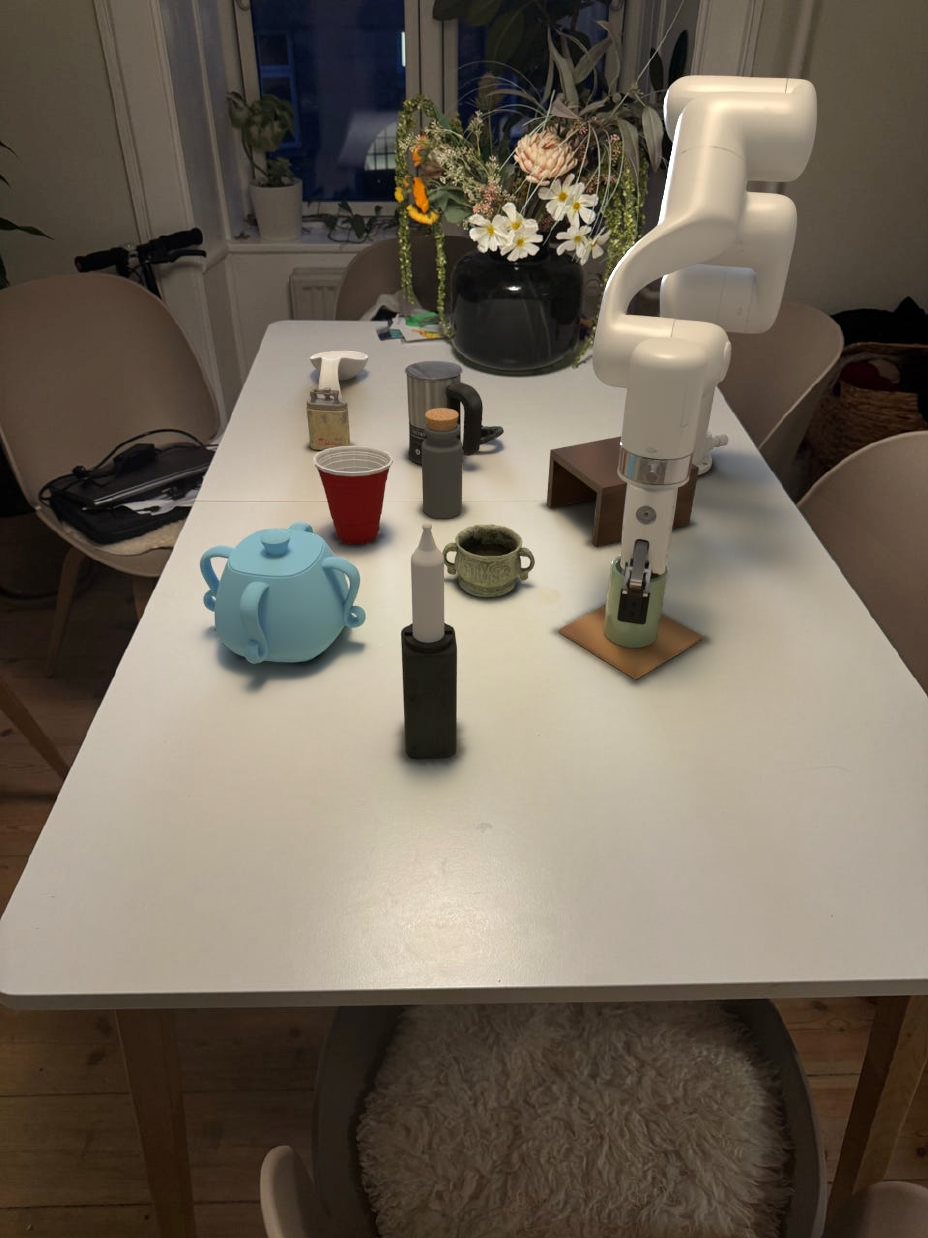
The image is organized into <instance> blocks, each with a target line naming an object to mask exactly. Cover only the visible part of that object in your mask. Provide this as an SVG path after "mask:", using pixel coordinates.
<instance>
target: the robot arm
mask: <svg viewBox="0 0 928 1238" xmlns="http://www.w3.org/2000/svg"><path fill="white" fill-rule="evenodd" d="M663 103H664V104H663V120H664V125H665V130H666V133H667V136H668V138H669V140H670V141H671V143H672V148H671V149H672V150H671V155H670V158H669V159H670V160H669V165H668V171H667V178H666V181H665V187H664V192H663V198H662V201H661V207H660V213H659V219H658V223H657V225H656V226H654V228H653V229H651V230H650V231H649V232H647V233H646V234H645V235H644V236H642V237H641V238H640V239H639V240H638V241H636V243H635V244H634V245H633V246H632V247H631V248H630V249H629V250H628V251H627V252H626V253H625V255H624V256H623V257H622V258H621V259H620V260H619V262H618V263H617V265H616V266H615V268H614V269H613V271H612V272H611V274H610V276H609V278H608V280H607V282H606V285H605V288H604V291H603V295H602V299H601V304H600V308H599V313H598V318H597V319H598V320H597V324H596V328H595V334H594V339H593V346H592V355H591V362H592V363H591V364H592V369H593V372H594V375H595V376H596V378H597V379H598V380H599V381H600V382H601V383H603V384H604V385H607V386H609V387H615V388H621V389H626V394H625V402H624V412H623V421H622V427H621V444H620V453H619V461H618V470H617V473H618V475H619V477H620V478H621V479H622V480H624V481H625V482H627V490H626V498H625V507H624V516H623V527H622V541H620V542H621V543H620V556H621V561H620V566H621V567H622V568H623V569H624V570H625V568H626V572H625V579H624V586H623V589H621V593H620V601H619V608H618V616H617V619H618V621H621V622H628V623H635V624H641V625H643V624H645V623H646V618H647V612H648V605H649V599H650V593H648V590H649V583H650V577H651V573H652V572H653V573H658V575H661V574H663V573H664V572H665V568H666V566H667V561H668V555H669V550H670V544H671V537H672V533H673V528H672V527H673V520H674V514H675V508H676V501H677V492H678V487H681V486H683V485H685V484H686V483H687V482H688V481H689V477H690V471H691V465H692V464H694V465H696V466H697V467H699V471H698V476H700V475H702V474H705V473H707V472H708V471H710V469H711V468H712V464H713V458H712V457H713V456H712V455H711V454H710V451H712V450H713V449H714V448H719V447H724V446H727V445H728V444H729V437H728V435H727V434H726V433H723V434H717V435H714V436H713V434H712V432H711V431H708V430H709V425H710V419H711V415H712V414H711V413H712V408H713V402H714V396H715V390H716V388H717V387H718V385H719V384H720V383H722V382H723V381H724V380H725V378H726V376H727V373H728V371H729V368H730V364H731V363H730V362H731V359H732V343H731V341H730V340H729V336H728V334H727V333H733V334H734V333H735V334H747V335H748V334H749V335H758V334H763V333H765V332H768V331H769V330H770V329H771V328H773V325H774V324H775V322H776V320H777V318H778V315H779V313H780V310H781V304H782V300H783V297H784V292H785V288H786V282H787V278H788V274H789V270H790V265H791V260H792V255H793V251H794V246H795V240H796V235H797V228H798V211H797V206H796V204H795V203H794V201H793V200H792V199H791V198H789V197H788V196H786V195H783V194H779V193H771V192H757V191H756V192H755V191H748V190H747V185H748V181H753V182H754V181H755V182H775V183H776V182H777V183H788V182H794V181H795V180H797V179H799V177H800V176H801V175H802V174H803V172H804V171H805V169H806V168H807V165H808V163H809V161H810V159H811V156H812V152H813V148H814V143H815V138H816V132H817V125H818V124H817V123H818V96H817V91H816V89H815V86H814V84H813V83H812V82H811V81H810V80H807V79H802V78H791V77H789V78H788V77H751V76H740V75H705V74H704V75H703V74H701V75H700V74H699V75H698V74H697V75H693V74H692V75H685V76H683V77H679V78H678V79H676V80H675V81H674V82H673V83H671V85H670V86H669V88H667V91H666V94H665V97H664V102H663ZM660 278H662V279H661V283H660V287H659V316H650V315H648V316H647V315H636V314H627V311H628V308H629V305H630V303H631V301H632V300H633V298H634V297H635V296H636V295H637V294H638V293H639V292H640V291H641V290H642V289H644V288H645V287H646V286H647V285H649V284H651V283H652V282H654V281H656V280H658V279H660ZM631 557H632V558H631ZM631 560H633V561H634V562H633V565H630V563H631ZM645 562H648V563H649V568H647V567H645ZM631 572H632V574H631V579H630V573H631ZM643 573H644V574H646V578H645V583H644V581H642V580H643Z"/></svg>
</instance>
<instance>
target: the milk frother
mask: <svg viewBox="0 0 928 1238" xmlns="http://www.w3.org/2000/svg"><path fill="white" fill-rule="evenodd" d="M404 373H405V374H406V390H407V413H408V414H407V415H408V441H409V442H408V447H409V448H408V452H407V457H408V459H409V460H411V462H414V463H416V464H419V465H422V443H423V441H424V440H425V439H426V438H428V436H426V435H425V433H424V425H425V424H426V423H427V422H426V417H425V413H426V412H427V411H429V410H432V409H437V408H447V409H452V410H455V411H457V412H458V414H459V416H458V421H457V423H458V424H459V426H460V433H459V435H458V436H456V438H458V439H459V440H460V441H461V442H462V457H464V456H469V457H470V456H472V455H475V454H476V453H478V452H479V451H480V449H481V445H483V444H487V443H489V442H491V441H494V440H496V439H498V438H499V437H500V436H502V435H503V434H504V432H505V430H504V428H503V427H502V426H500V425H491V426H489V425H488V426H487V425H485V426H484V425H483V412H484V409H483V408H484V406H483V401H482V398H481V395H480V394H479V392H478V391H477V389H476V388H474V386H472V385H470V384H468V383H466V382H462V379H461V376H462V373H463V367H462V366H461V365H459V364H457V363H455V362H450V361H444V360H426V361H425V360H424V361H418V362H414V363H412V364H409V365H408V366H406V367H405V368H404ZM461 405H462V406H461ZM461 407H462V408H463V432H462V430H461V429H462V426H461V423H462V422H461V421H462V418H461V417H462V416H461V415H462V414H461V412H462V411H461V409H462V408H461ZM462 433H463V434H462ZM462 437H463V438H462ZM463 454H464V455H463Z"/></svg>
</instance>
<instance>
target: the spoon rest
mask: <svg viewBox="0 0 928 1238" xmlns="http://www.w3.org/2000/svg"><path fill="white" fill-rule="evenodd" d="M309 361H310V362H311V364H312V366H313V367H314V369H315V370H316V371H317V372H318V373H319V378H318V379H319V380H318V385H317V389H319V390H320V389H324V388H331V390H337V391H339V395H338V399H343V396H342V390H341V386H340V381H349V380H351V379H353V378H355V377H356V375H358V374H359V373H361V372H362V371H363V370H364V368H365V367H366V366H367V364H368V361H369V355H368V354H366V353H364V352H361V351H355V350H333V351H331V350H330V351H322V352H319V353H315V354H312V355H311V356H310V357H309ZM317 397H318V398H326V397H325V396H324V394H317ZM330 398H332V399H334V397H333V396H330Z"/></svg>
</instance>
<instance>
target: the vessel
mask: <svg viewBox="0 0 928 1238" xmlns="http://www.w3.org/2000/svg"><path fill="white" fill-rule="evenodd" d="M441 552H442V554H443V556H444V566H446V569H447V570H446V572H447V574H448V575H452V576H454V575H456V574H458V576H459V577H458V585H459V586H460V588H461V589H462V590H463V591H465V592H466V593H467V594H470V595H472V596H474V597H481V598H496V597H500V596H504V595H506V594H507V593H510V592H511V591H512V590H514V588H515V587H516V579H517V577H519V580H520V581H521V582H523V581H527V580H528V579H529V573H530V572H531V571H532V570H533V569H534V567H535V564H536V560H535V557H534V554H533V552H532V551H531V550H530V549H529V548H527V547H523V538H522V537H521V535H520V534H519V533H518V532H516V531H515V530H513V529H512V528H509V527H506V526H503V525H498V524H475V525H472V526H468V527H466V528H464V529H462V530H460V531H459V532H458V533H457V534H456V535H455V539H454V542H448V543H447V544H446V545H445V546H444V548H443V549H442V551H441ZM450 552H456V553H455V556H454V561H453V562H452V561H449V560H448V556H447V555H448V553H450ZM521 557H524V558H527V559H529V565H528V566H527V567H522V558H521Z"/></svg>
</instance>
